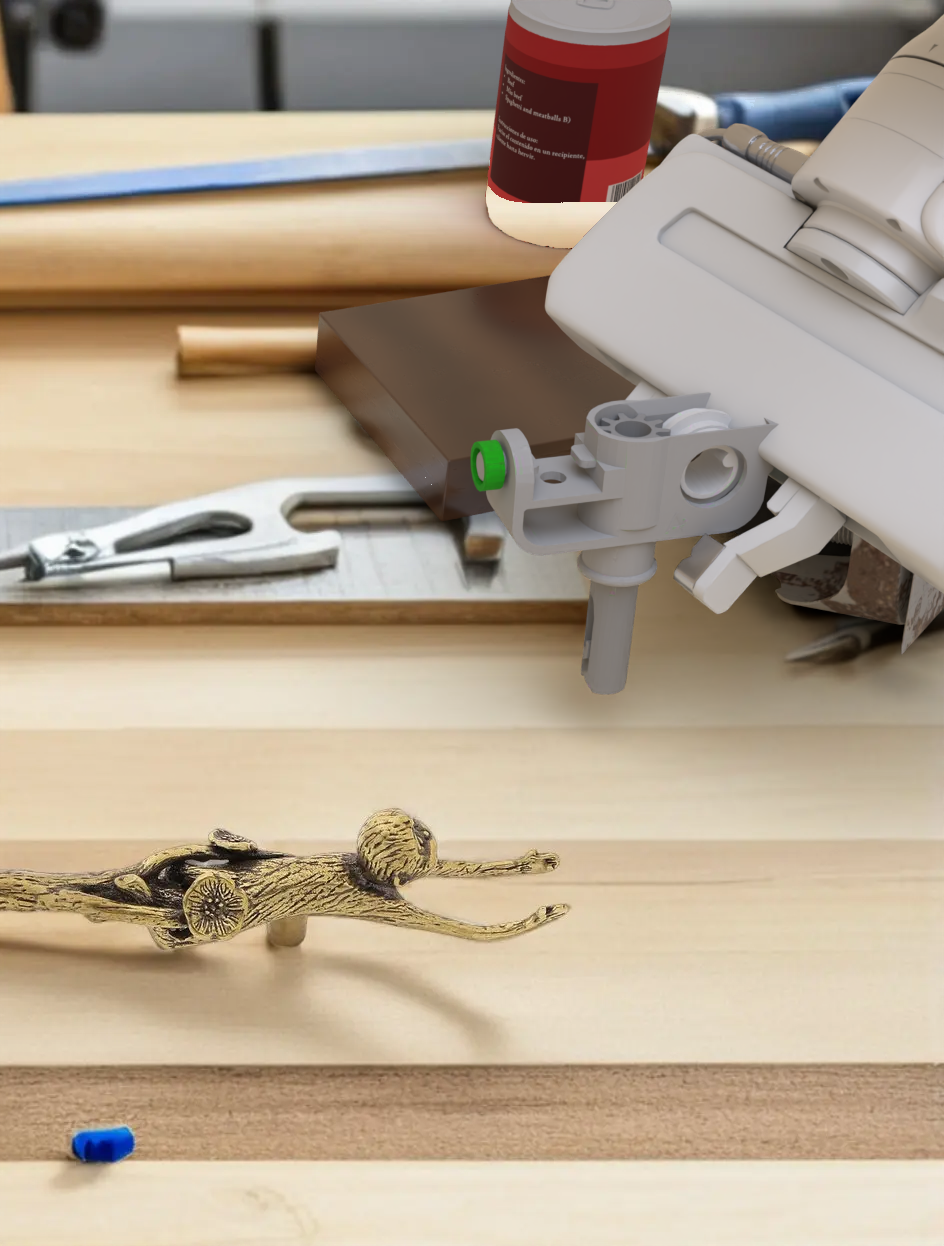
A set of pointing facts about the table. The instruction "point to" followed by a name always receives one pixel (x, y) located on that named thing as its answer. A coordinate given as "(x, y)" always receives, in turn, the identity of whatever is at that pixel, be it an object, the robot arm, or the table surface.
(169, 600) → the table surface
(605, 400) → the plinth
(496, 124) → the canned food
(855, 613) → the caster wheel
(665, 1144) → the table surface
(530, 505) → the mechanical component
